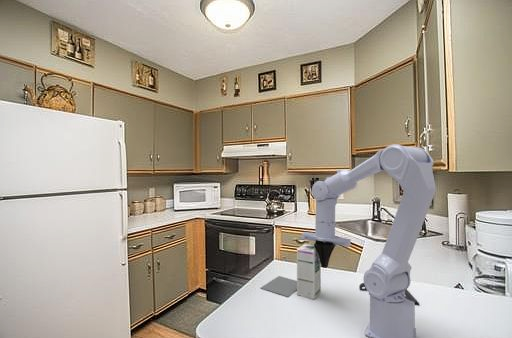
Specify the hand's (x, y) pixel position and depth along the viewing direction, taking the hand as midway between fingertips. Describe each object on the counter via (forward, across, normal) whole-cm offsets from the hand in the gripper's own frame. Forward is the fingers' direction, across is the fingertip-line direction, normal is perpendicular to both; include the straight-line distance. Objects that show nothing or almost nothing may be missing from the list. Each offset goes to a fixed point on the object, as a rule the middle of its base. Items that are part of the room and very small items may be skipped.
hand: (324, 266), depth 78 cm
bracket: (+10, +14, +16) cm, 24 cm away
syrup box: (+10, -5, 0) cm, 11 cm away
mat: (+10, -14, 0) cm, 17 cm away
